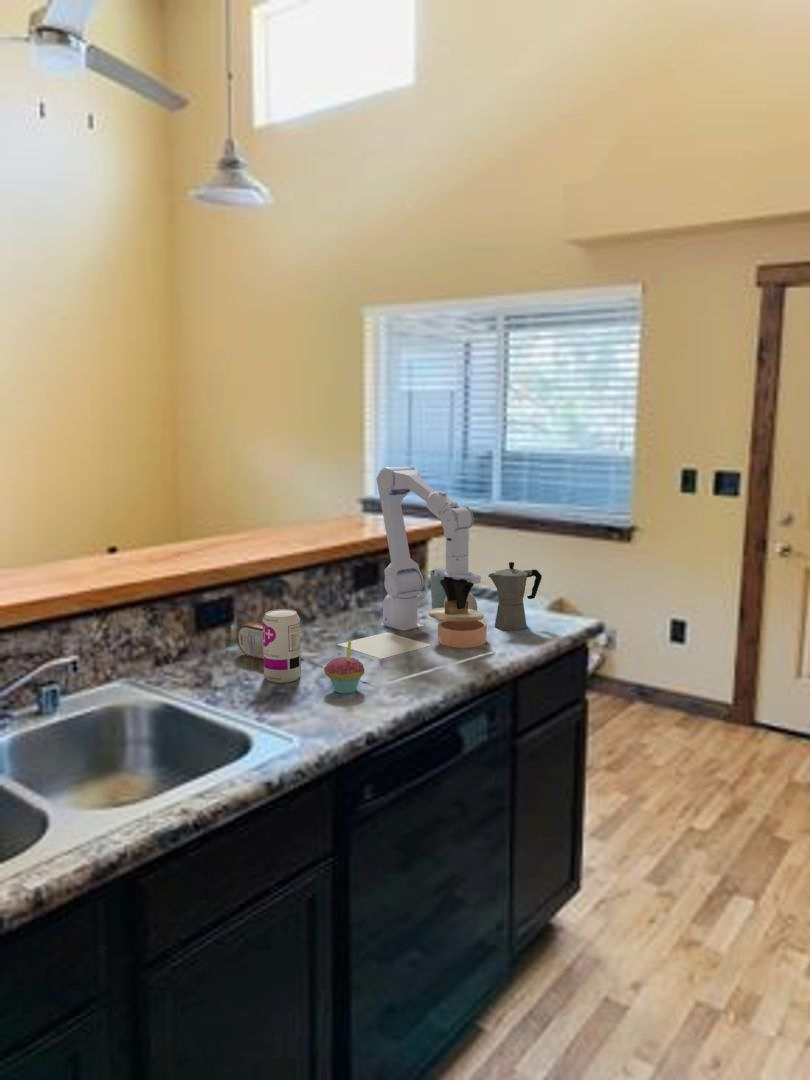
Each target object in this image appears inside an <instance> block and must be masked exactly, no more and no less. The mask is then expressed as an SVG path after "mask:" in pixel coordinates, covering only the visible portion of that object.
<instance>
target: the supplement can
mask: <svg viewBox="0 0 810 1080" xmlns="http://www.w3.org/2000/svg"><path fill="white" fill-rule="evenodd" d="M297 612H298V611H296V610H293V609H272V610H269V611H267V612H265V613H264V617H262V624H263V651H264V660H263V673H264V675H263V677H264V678H265V679H266V681H269V682H271V683H276V684H286V683H292V682H294V681H297V680H298V679H299V678H300V676H301V675H302V668H301V663H302V662H301V659H302V658H301V625H300V624H301V623H300V621H301V620H300V617H299V615H298V613H297Z"/></svg>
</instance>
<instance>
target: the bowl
mask: <svg viewBox="0 0 810 1080" xmlns="http://www.w3.org/2000/svg"><path fill="white" fill-rule="evenodd" d="M437 642H439V644H440V645H442V646H446V647H449V648H458V649H459V648H461V649H464V648H465V649H466V648H468V649H469V648H476V647H480V646H483V645H485V644H486V642H487V623H485V622H484V621H483V620H478V621H469V622H458V621H446V620H441V621H439V623H438V624H437Z"/></svg>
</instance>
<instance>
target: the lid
mask: <svg viewBox="0 0 810 1080" xmlns="http://www.w3.org/2000/svg"><path fill="white" fill-rule="evenodd" d="M428 616H429V617H430V618H433V619H436V620H441V621H445V620H446V621H458V622H469V621H478V620H479V621H483V619H484V617H485V616H484V613H483V611H478V610H477V611H476V610H472V609H468V601H466V605H465V608H463V609H457V600H453V601H445V608H435V609H432V608H431V609H429V610H428Z"/></svg>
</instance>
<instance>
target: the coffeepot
mask: <svg viewBox="0 0 810 1080" xmlns="http://www.w3.org/2000/svg"><path fill="white" fill-rule="evenodd" d="M508 566H509V568H506V569H500V570H496V571H495V572H492V573H489V574H488V575H487V576H488V578H490V579H491V581H492V582H493V585H494V586H495V588H496V592H497V597H498V603H497V610H496V616H495V623H494V628H496V627H497V628H496V629H500V630H503V631H520V630H524V629H527V620H526V619H527V618H526V612H525V605H524V604H525V603H524V597H525V592H526V585H527V579H528V578H532V577H535V578H534V582H533V586H532V589H531V594H530V595H527V599H528V600H533V599H535V598H536V595H537V592H538V589H539V588H540V583H541V581H542V577H543V575H542V574H541V572H540V571H539V570H537V569H525V570H520V569H517V568H514V566H515V562H513V561H510V562H508Z"/></svg>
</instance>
